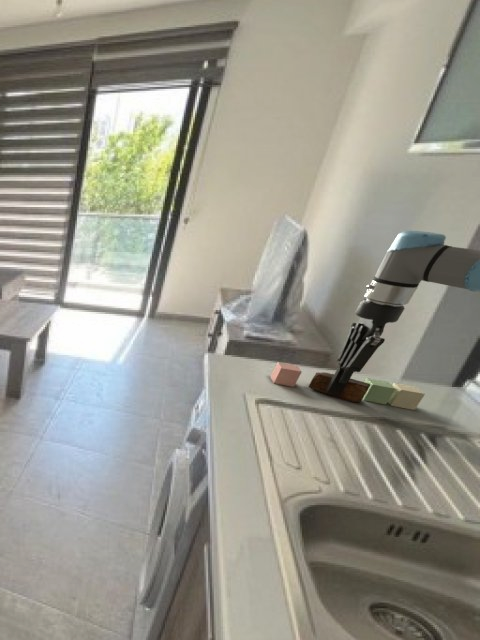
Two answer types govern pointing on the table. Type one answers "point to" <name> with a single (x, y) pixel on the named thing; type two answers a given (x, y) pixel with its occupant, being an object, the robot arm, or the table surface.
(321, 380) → the brick
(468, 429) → the table surface
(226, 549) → the table surface
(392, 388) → the cube sage
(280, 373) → the cube rose
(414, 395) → the cube cream
